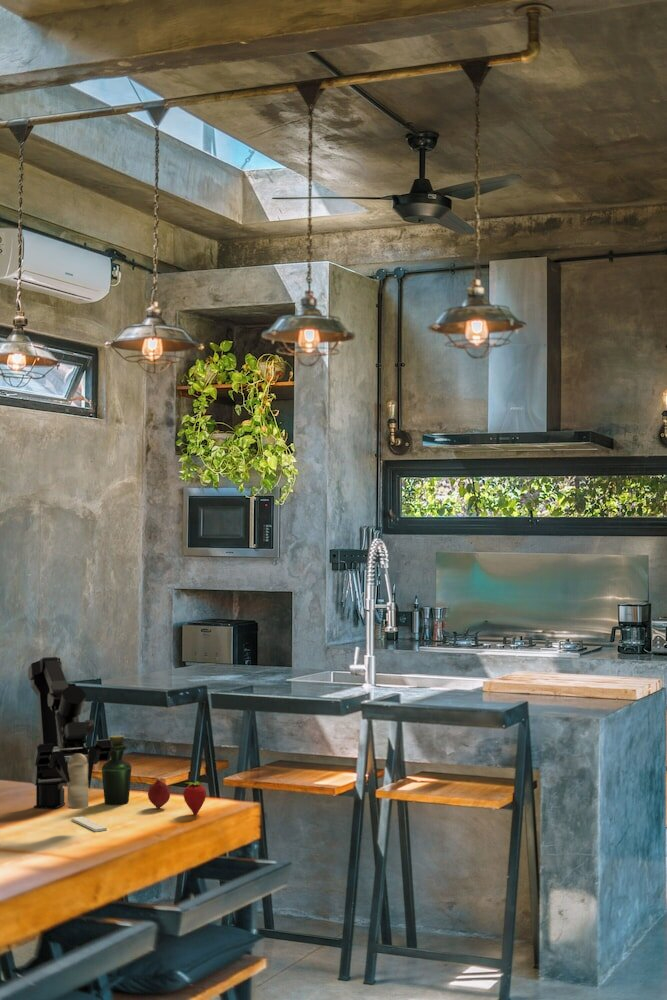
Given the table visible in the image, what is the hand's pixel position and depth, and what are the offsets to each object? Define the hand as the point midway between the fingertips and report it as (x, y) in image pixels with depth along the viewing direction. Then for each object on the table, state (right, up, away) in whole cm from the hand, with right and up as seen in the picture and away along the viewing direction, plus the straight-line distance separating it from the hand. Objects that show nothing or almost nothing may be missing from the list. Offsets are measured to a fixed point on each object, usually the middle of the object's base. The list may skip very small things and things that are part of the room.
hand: (79, 780), depth 296 cm
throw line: (+1, -13, +8) cm, 15 cm away
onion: (+16, -14, +28) cm, 35 cm away
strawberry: (+26, -14, +20) cm, 35 cm away
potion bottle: (+3, -14, +36) cm, 39 cm away
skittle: (0, -7, +1) cm, 7 cm away
